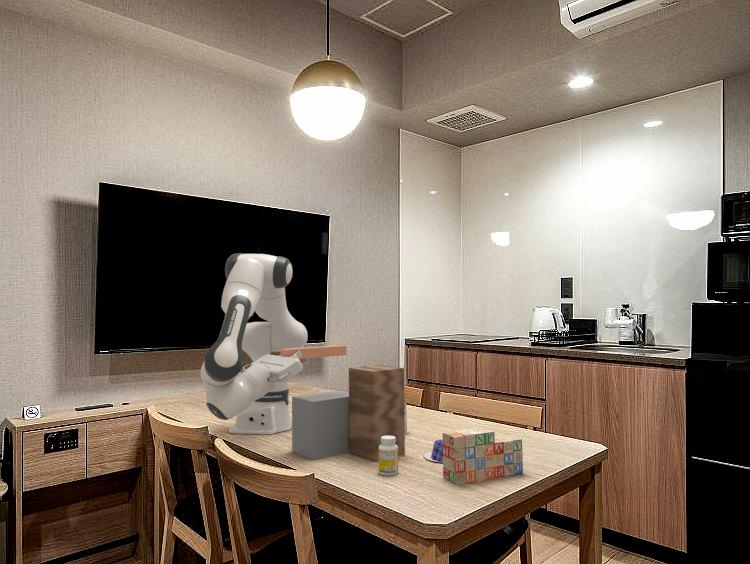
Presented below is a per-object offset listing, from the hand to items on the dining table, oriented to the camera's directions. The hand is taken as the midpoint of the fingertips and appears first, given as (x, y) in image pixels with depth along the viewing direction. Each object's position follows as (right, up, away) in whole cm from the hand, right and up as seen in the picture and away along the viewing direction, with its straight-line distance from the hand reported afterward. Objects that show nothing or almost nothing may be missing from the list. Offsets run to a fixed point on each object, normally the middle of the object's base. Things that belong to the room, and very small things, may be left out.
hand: (296, 352), depth 171 cm
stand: (+24, -31, +1) cm, 39 cm away
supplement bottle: (+27, -31, -17) cm, 45 cm away
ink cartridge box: (+31, -32, +25) cm, 51 cm away
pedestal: (+9, -31, +6) cm, 33 cm away
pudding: (+44, -31, -3) cm, 54 cm away
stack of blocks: (+52, -31, -20) cm, 64 cm away
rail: (+5, -2, +4) cm, 7 cm away
